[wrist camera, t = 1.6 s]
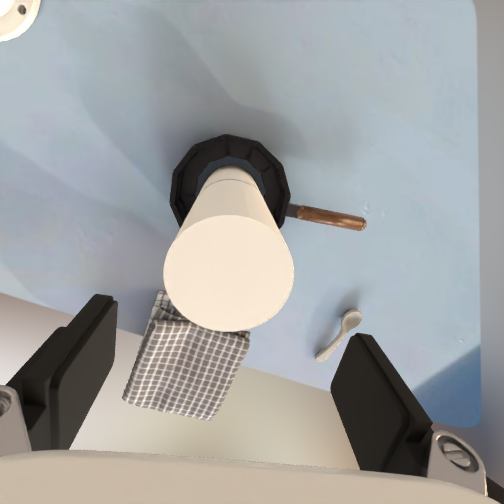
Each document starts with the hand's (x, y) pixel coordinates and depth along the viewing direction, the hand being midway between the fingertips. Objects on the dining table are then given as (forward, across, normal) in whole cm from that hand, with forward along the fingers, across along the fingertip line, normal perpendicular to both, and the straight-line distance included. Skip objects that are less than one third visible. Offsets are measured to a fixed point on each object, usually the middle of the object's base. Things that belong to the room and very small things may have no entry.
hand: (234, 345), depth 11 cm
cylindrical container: (+30, 0, 0) cm, 30 cm away
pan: (+30, -5, -1) cm, 30 cm away
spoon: (+30, -22, +19) cm, 42 cm away
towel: (+30, +2, +26) cm, 40 cm away
